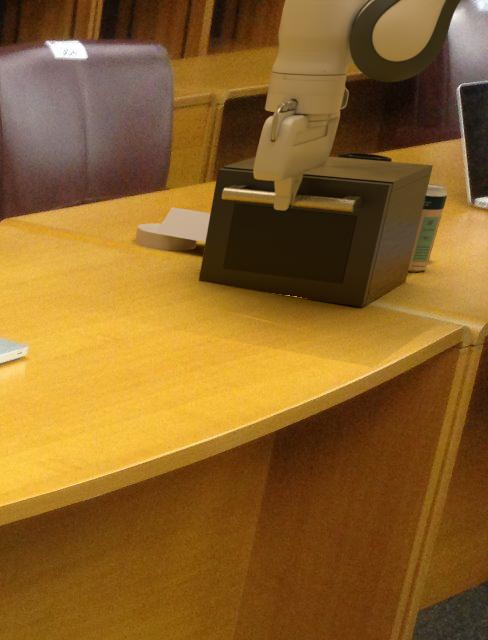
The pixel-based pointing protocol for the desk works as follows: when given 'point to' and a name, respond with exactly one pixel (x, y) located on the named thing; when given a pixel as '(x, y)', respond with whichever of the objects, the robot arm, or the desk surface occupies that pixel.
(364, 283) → the oven door
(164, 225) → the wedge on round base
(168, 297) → the desk surface
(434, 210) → the pink and green canister
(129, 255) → the desk surface
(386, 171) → the oven
